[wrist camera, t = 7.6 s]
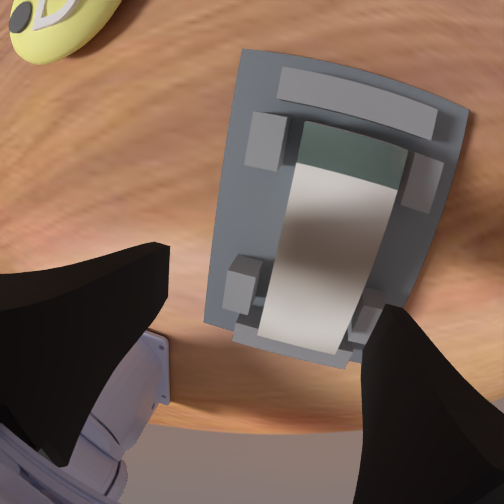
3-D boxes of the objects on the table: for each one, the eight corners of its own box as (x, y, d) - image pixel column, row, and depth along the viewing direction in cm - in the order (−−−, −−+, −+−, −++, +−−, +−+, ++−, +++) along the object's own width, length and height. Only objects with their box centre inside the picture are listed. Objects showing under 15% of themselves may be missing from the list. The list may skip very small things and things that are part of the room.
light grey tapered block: (335, 309, 18) (334, 354, 14) (271, 293, 18) (256, 335, 15) (388, 142, 13) (408, 150, 10) (309, 121, 14) (304, 121, 10)
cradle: (371, 355, 20) (374, 386, 17) (208, 314, 22) (192, 340, 19) (461, 109, 12) (486, 110, 10) (246, 52, 14) (230, 39, 11)
